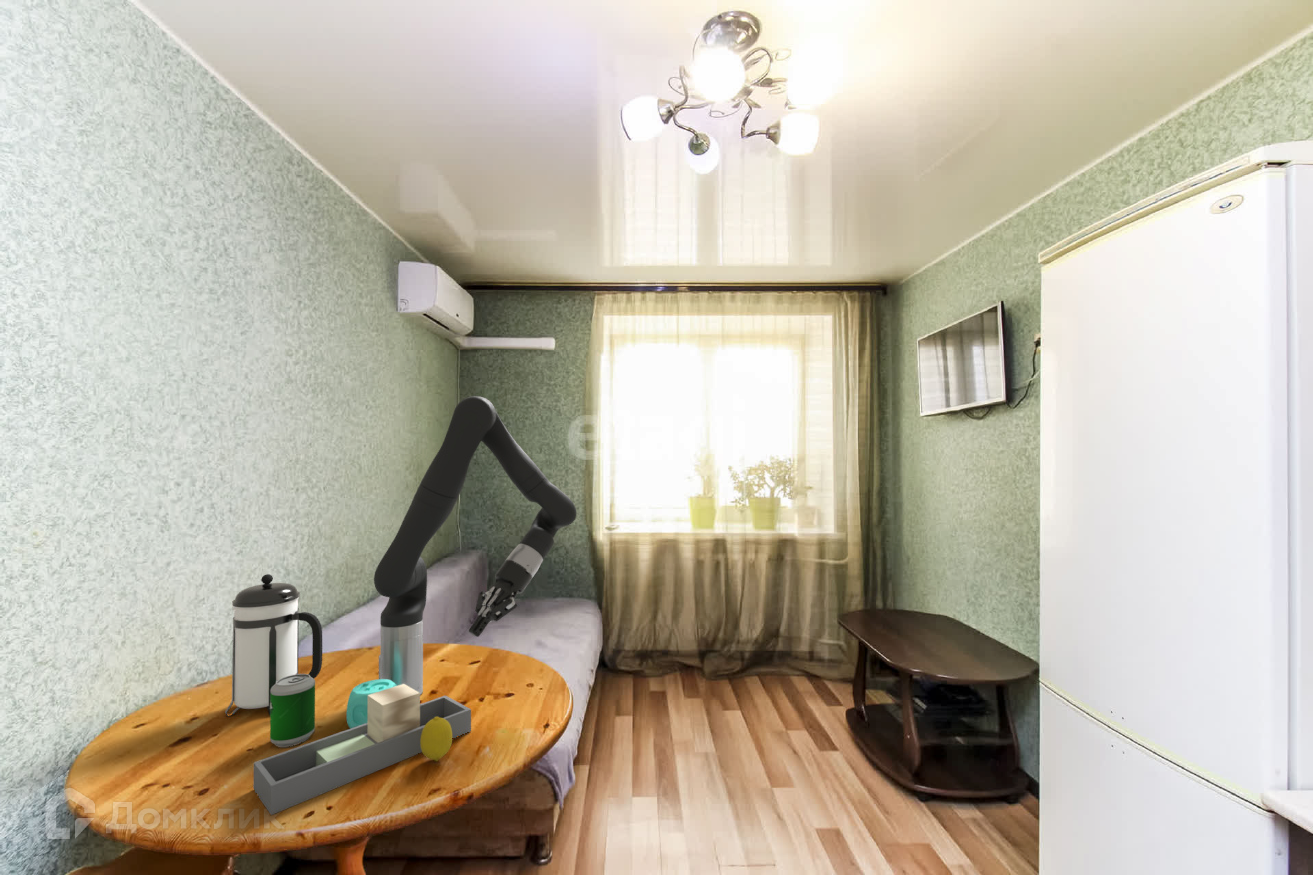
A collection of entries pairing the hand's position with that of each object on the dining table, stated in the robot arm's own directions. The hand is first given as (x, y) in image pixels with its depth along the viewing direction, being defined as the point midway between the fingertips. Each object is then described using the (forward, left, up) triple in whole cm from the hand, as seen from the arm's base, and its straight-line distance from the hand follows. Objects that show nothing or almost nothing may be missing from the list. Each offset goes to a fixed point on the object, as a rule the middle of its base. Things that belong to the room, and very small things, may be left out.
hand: (473, 634), depth 120 cm
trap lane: (-4, -21, -18) cm, 27 cm away
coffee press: (-46, -19, -18) cm, 53 cm away
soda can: (-25, -25, -18) cm, 39 cm away
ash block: (-3, -17, -15) cm, 22 cm away
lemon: (+8, -15, -18) cm, 25 cm away
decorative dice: (-16, -13, -18) cm, 28 cm away
